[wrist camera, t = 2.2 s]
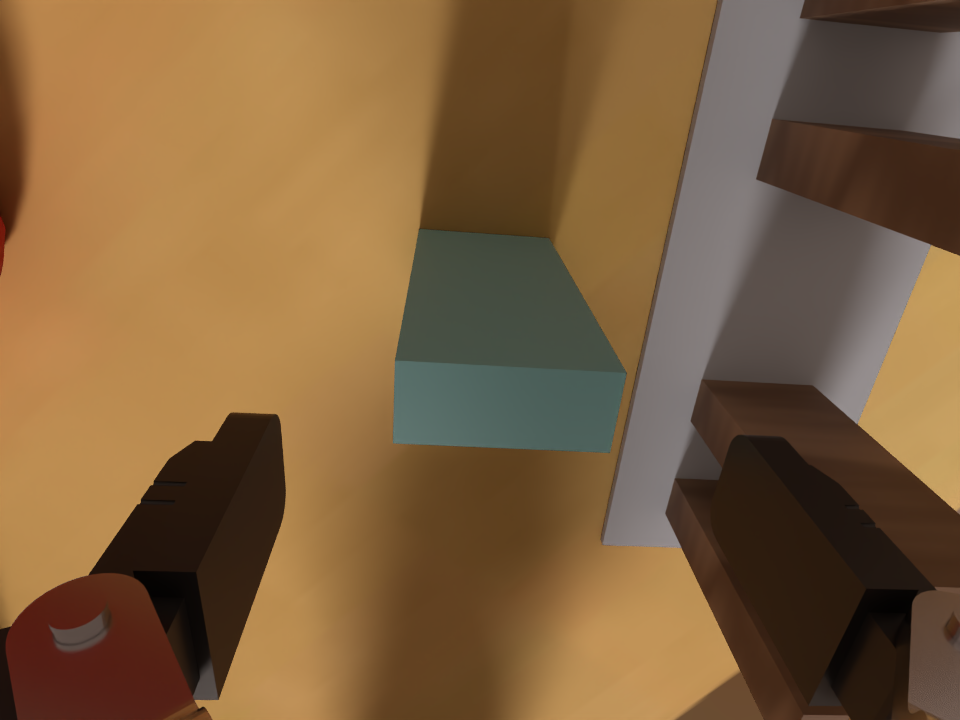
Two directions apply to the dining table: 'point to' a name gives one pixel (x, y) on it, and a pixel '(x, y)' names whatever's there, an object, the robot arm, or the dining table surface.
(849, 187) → the domino
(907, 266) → the felt mat
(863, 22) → the domino
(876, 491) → the domino
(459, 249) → the domino
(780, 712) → the domino
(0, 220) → the apple
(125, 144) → the dining table surface
